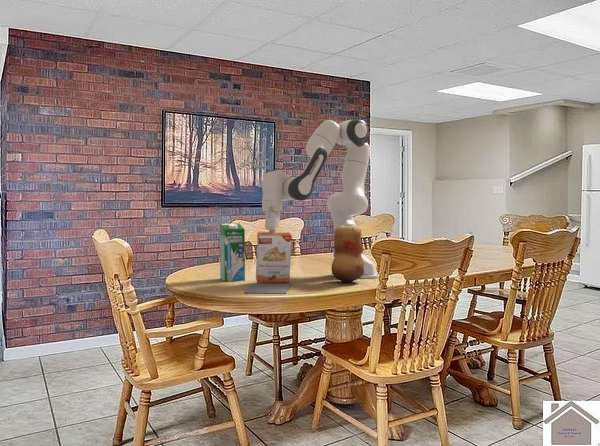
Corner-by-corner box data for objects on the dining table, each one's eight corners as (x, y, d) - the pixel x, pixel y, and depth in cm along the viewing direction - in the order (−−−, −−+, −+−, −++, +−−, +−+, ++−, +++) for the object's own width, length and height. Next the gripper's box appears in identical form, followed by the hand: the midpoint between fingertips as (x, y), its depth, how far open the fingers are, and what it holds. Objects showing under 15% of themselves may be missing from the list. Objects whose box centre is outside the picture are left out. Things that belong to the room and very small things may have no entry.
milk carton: (224, 281, 215) (224, 224, 214) (220, 278, 224) (219, 223, 222) (245, 280, 219) (244, 223, 217) (239, 277, 227) (239, 222, 226)
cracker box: (257, 283, 207) (258, 235, 203) (255, 279, 213) (256, 231, 209) (290, 283, 210) (292, 235, 206) (287, 278, 216) (289, 231, 212)
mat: (290, 284, 208) (290, 283, 208) (285, 293, 187) (285, 292, 187) (252, 284, 209) (252, 283, 209) (243, 293, 188) (243, 292, 188)
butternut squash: (332, 285, 206) (332, 225, 205) (330, 279, 219) (330, 223, 218) (365, 285, 206) (366, 224, 205) (362, 279, 219) (362, 223, 218)
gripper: (276, 207, 201) (276, 241, 202) (282, 207, 222) (282, 237, 222) (261, 207, 202) (261, 241, 202) (268, 206, 222) (268, 237, 223)
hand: (272, 239), depth 213 cm, fingers closed
